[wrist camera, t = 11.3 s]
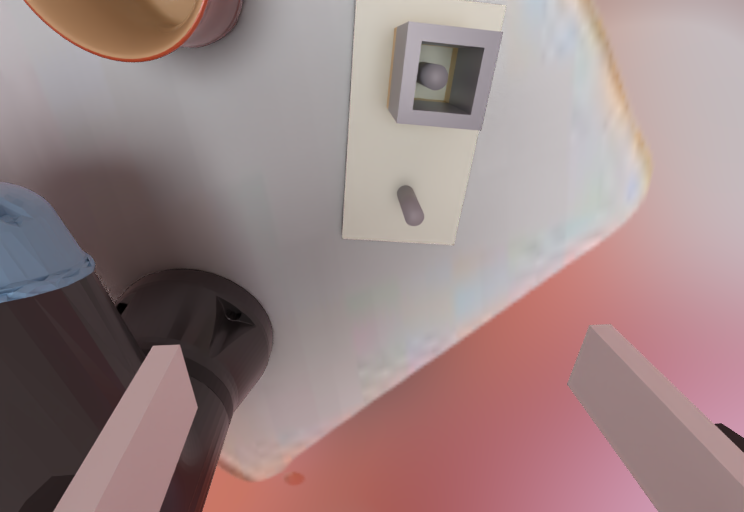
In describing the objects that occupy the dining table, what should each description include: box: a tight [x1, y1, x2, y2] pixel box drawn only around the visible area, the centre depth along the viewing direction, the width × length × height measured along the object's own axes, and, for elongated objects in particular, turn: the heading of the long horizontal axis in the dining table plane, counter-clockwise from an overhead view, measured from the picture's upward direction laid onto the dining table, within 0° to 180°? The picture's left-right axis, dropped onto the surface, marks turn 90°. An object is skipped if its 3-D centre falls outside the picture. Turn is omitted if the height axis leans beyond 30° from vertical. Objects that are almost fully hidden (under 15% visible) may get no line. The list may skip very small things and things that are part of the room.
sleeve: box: [386, 21, 503, 131], centre depth 24 cm, size 5×5×7 cm
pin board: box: [342, 0, 506, 245], centre depth 27 cm, size 10×18×6 cm, turn 175°
